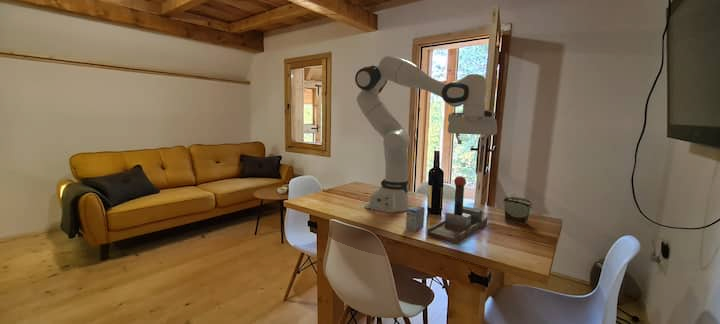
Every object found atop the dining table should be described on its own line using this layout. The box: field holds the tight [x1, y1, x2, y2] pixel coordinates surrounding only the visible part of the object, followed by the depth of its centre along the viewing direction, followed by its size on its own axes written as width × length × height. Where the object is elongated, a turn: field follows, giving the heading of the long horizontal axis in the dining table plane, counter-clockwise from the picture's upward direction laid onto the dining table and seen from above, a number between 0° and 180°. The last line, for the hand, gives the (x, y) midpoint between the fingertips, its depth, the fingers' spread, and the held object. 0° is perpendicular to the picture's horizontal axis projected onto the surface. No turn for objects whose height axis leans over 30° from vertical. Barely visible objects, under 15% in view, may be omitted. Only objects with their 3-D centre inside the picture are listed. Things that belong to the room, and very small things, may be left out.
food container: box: [502, 196, 533, 226], centre depth 138 cm, size 12×6×10 cm, turn 34°
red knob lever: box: [444, 175, 471, 229], centre depth 124 cm, size 4×9×20 cm, turn 48°
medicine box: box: [405, 204, 425, 232], centre depth 127 cm, size 8×4×9 cm, turn 145°
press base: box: [426, 205, 488, 246], centre depth 126 cm, size 30×12×7 cm, turn 138°
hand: (470, 144), depth 136 cm, fingers open, 8 cm apart
